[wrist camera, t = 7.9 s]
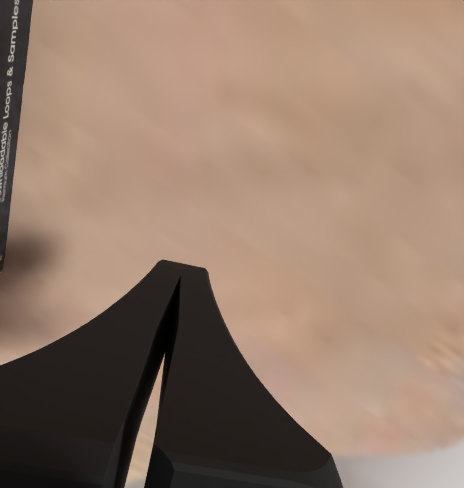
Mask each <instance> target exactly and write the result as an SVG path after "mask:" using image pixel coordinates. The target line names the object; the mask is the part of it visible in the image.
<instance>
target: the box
mask: <svg viewBox="0 0 464 488" xmlns="http://www.w3.org/2000/svg"><path fill="white" fill-rule="evenodd" d="M32 5H33V0H0V273H1V271H2V268H3V263H4V257H5V249H6V240H7V231H8V222H9V212H10V203H11V194H12V185H13V176H14V167H15V158H16V148H17V139H18V131H19V122H20V113H21V104H22V93H23V84H24V77H25V70H26V60H27V51H28V43H29V33H30V23H31V13H32Z"/></svg>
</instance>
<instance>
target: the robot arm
mask: <svg viewBox="0 0 464 488" xmlns="http://www.w3.org/2000/svg"><path fill="white" fill-rule="evenodd" d="M164 354H165V359H164V367H163V375H162V384H161V392H160V401H159V409H158V418H157V425H156V432H155V438H154V443H153V448H152V453H151V458H150V462H149V467H148V472H147V477H146V481H145V486H144V488H343V486H342V482H341V479H340V477H339V474H338V471H337V469H336V465H335V463H334V460H333V457H332V455H331V453H329V452H328V451H327V450H326V449H325V448H324V447H323V446H322V445H321V444H320V443H319V442H317V441H316V440H315V439H314V438H313V437H312V436H311V435H310V434H309V433H308V432H306V431H305V430H304V429H303V428H302V427H301V426H300V425H299V424H298V423H297V422H296V421H295V420H294V419H293V418H292V417H291V416H290V415H289V414H288V413H287V412H286V411H285V410H284V409H283V408H282V407H281V405H280V404H279V403H278V402H277V401H276V400H275V399H274V398H273V396H272V395H271V394H270V393H269V391H268V390H267V389H266V388H265V387H264V385H263V384H262V383H261V382H260V380H259V379H258V378H257V377H256V375H255V374H254V372H253V371H252V369H251V368H250V367H249V365H248V364H247V362H246V360H245V359H244V357H243V356H242V354H241V353H240V351H239V349H238V347H237V346H236V344H235V342H234V340H233V338H232V336H231V334H230V332H229V330H228V328H227V326H226V324H225V322H224V320H223V318H222V315H221V313H220V310H219V308H218V305H217V303H216V300H215V297H214V294H213V291H212V288H211V284H210V280H209V275H208V272H207V270H206V269H205V268H201V267H196V266H191V265H187V264H182V263H177V262H172V261H167V260H161V261H159V262H158V263H157V264H156V265H155V266H154V268H153V269H152V270H151V271H150V272H149V273H148V274H147V275H146V276H145V277H144V278H143V279H142V280H141V281H140V282H139V283H138V284H137V285H136V286H135V287H133V288H132V289H131V290H130V291H129V292H128V293H127V294H126V295H124V296H123V297H122V298H121V299H119V300H118V301H117V302H116V303H114V304H113V305H112V306H110V307H109V308H108V309H107V310H105V311H104V312H103V313H101V314H100V315H98V316H97V317H95V318H94V319H92V320H91V321H89V322H88V323H86V324H85V325H83V326H81V327H80V328H78V329H77V330H75V331H73V332H71V333H69V334H68V335H66V336H64V337H62V338H60V339H59V340H57V341H55V342H53V343H51V344H49V345H47V346H45V347H43V348H41V349H39V350H37V351H34V352H32V353H30V354H27V355H25V356H23V357H20V358H18V359H15V360H13V361H10V362H8V363H5V364H3V365H0V488H124V486H125V482H126V478H127V474H128V470H129V466H130V462H131V458H132V454H133V450H134V446H135V442H136V438H137V434H138V431H139V428H140V424H141V421H142V418H143V415H144V412H145V409H146V407H147V404H148V401H149V398H150V395H151V392H152V389H153V386H154V383H155V381H156V378H157V375H158V372H159V369H160V366H161V363H162V360H163V357H164Z"/></svg>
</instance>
